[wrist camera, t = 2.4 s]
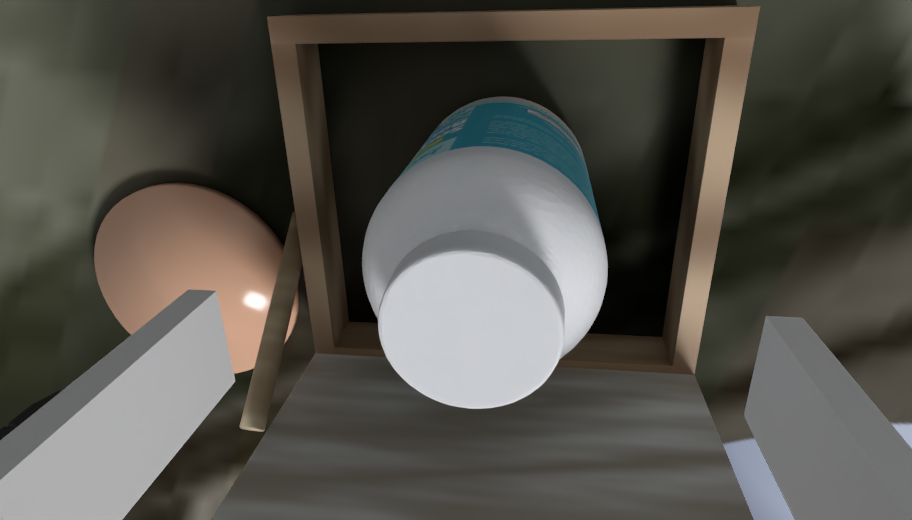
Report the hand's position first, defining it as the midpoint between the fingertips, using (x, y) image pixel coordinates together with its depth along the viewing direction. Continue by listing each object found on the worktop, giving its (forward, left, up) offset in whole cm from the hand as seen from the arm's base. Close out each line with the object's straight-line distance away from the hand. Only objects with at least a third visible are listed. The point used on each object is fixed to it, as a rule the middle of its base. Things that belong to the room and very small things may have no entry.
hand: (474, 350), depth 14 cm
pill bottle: (0, 0, -14) cm, 14 cm away
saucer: (+6, -16, -14) cm, 22 cm away
